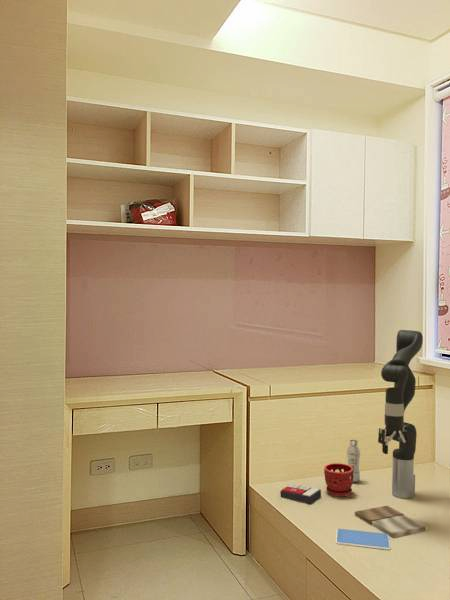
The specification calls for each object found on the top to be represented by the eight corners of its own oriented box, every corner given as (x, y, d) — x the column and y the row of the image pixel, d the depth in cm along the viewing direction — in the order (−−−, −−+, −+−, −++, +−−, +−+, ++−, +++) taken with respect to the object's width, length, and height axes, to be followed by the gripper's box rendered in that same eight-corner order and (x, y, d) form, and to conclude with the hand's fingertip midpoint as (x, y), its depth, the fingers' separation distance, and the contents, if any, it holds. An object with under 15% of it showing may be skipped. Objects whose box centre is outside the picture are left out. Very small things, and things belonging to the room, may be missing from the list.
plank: (404, 518, 218) (404, 514, 218) (426, 530, 207) (426, 526, 207) (371, 525, 211) (371, 521, 211) (392, 538, 201) (392, 533, 200)
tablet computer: (335, 545, 195) (335, 541, 195) (336, 530, 207) (336, 527, 207) (390, 552, 190) (390, 548, 190) (388, 536, 203) (388, 533, 203)
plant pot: (328, 486, 254) (328, 461, 254) (355, 491, 248) (356, 465, 248) (320, 495, 242) (320, 469, 242) (349, 500, 237) (349, 473, 236)
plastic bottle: (352, 484, 256) (353, 443, 256) (343, 480, 262) (344, 439, 262) (363, 482, 259) (363, 441, 259) (353, 478, 265) (354, 438, 265)
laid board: (387, 508, 228) (387, 505, 228) (403, 518, 219) (404, 514, 219) (354, 515, 221) (354, 511, 221) (370, 524, 212) (370, 520, 212)
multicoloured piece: (291, 482, 249) (321, 487, 240) (291, 491, 249) (321, 497, 240) (279, 489, 240) (310, 495, 231) (280, 498, 240) (310, 505, 231)
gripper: (401, 410, 227) (400, 448, 227) (374, 412, 221) (373, 451, 221) (414, 414, 220) (413, 453, 220) (386, 416, 214) (386, 457, 215)
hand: (393, 452), depth 221 cm, fingers open, 8 cm apart
